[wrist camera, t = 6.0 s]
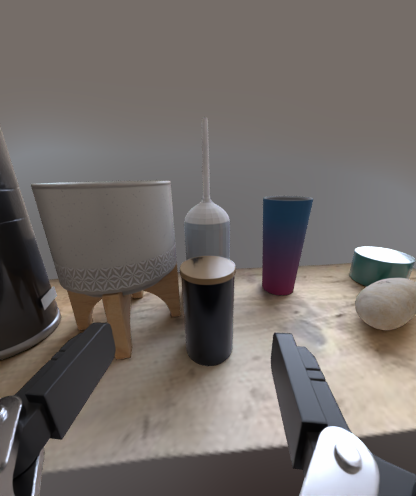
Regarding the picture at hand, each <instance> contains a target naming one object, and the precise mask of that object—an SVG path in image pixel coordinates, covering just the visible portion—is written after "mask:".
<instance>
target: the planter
mask: <svg viewBox="0 0 416 496" xmlns="http://www.w3.org/2000/svg"><path fill="white" fill-rule="evenodd" d="M31 187H32V190H33V194H34V197H35V201H36V204H37V207H38V211H39V214H40V218H41V221H42V224H43V227H44V231H45V234H46V238H47V241H48V245H49V248H50V251H51V255H52V258H53V261H54V265H55V268H56V271H57V275H58V278H59V282H60V284H61V286H62V287H63V288H65V289H66V290H67V292H68V295H69V298H70V302H71V305H72V309H73V312H74V316H75V319H76V323H77V326H78V330H84V329H87V328H88V326H89V325H90V324H92V322H93V318H92V313H93V308H94V306H95V305H96V304H97V303H98V302H99V301H100V300H101V299H102V300H103V305H104V309H105V314H106V318H107V323H109V324H110V325H111V328H112V333H113V337H114V342H115V347H116V351H115V358H116V360H118V359H124V358H130V357H131V353H132V342H131V330H130V305H131V295H132V297H133V299H134V298H142V297H143V291H146V292H150V293H152V294H154V295H156V296H158V297H159V298H161V299H162V300H163V301H164V302H165V303H166V304H167V306H168V308H169V309H170V312H171V317H177V316H181V312H180V299H179V285H178V272H177V261H176V248H175V235H174V221H173V209H172V195H171V182H170V181H114V182H113V181H111V182H72V183H43V184H31Z"/></svg>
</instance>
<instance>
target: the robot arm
mask: <svg viewBox="0 0 416 496" xmlns="http://www.w3.org/2000/svg"><path fill="white" fill-rule="evenodd" d="M18 187H19V185H18V182H17V179H16V176H15V173H14V169H13V166H12V163H11V160H10V156H9V153H8V149H7V146H6V143H5V140H4V137H3V133H2V129H1V126H0V360H2V359H5V358H8V357H11V356H13V355H15V354H18V353H20V352H22V351H24V350H26V349H28V348H30V347H32V346H34V345H35V344H37V343H38V342H40V341H41V340H43V339H44V338H46V337H47V336H48V335H49V334H50V333H52V332H53V331H54V330H55V328H56V327H57V326H58V324H59V323H60V320H61V314H60V311H59V308H58V307H57V303H56V301H55V297H56V296H57V294H56V291H55V288H54V286H53V287H52V288H51V286H50V283H49V279H48V276H47V274H46V270H45V267H44V264H43V260H42V257H41V254H40V251H39V248H38V245H37V242H36V238H35V235H34V232H33V229H32V226H31V223H30V219H29V216H28V213H27V210H26V207H25V204H24V201H23V197H22V194H21V191H20V189H19V188H18ZM115 351H116V347H115V342H114V337H113V333H112V328H111V325H110V324H109V323H92V324H90V325H89V326H88V328H87V329H86V330H85V331H84V332H83V333H80V334H78V335H77V336H75V337H73V338H72V339H70V340H69V341H68V342H67V343H66V344H65V345H64V346H63V347H62V348H61V349H60V350H59V352H57V353H56V354H55V355H54V356H53V357H52V358H51V360H49V361H48V362H47V363H46V364H45V365H44V366H43V367H42V368H41V369H40V370H39V371H38V372H37V373H36V374H35V375H34V376H33V377H32V378H31V379H30V380H29V381H28V382H27V383H26V384H25V385H24V386H23V387H22V388H21V389H20V390H19V391H18V392H17V393H16V394H15V395H14V396H7V397H4V398H1V399H0V496H39V494H40V486H41V478H42V470H43V462H44V454H45V450H44V446H45V444H46V443H47V441H48V440H49V438H53V439H61V440H62V439H63V437H64V436H65V434H66V432H67V431H68V429H69V428H70V426H71V425H72V423H73V422H74V420H75V418H76V417H77V415H78V414H79V412H80V411H81V409H82V407H83V406H84V404H85V403H86V401H87V400H88V398H89V397H90V395H91V393H92V392H93V390H94V389H95V387H96V386H97V384H98V382H99V381H100V379H101V378H102V376H103V375H104V373H105V372H106V370H107V368H108V367H109V365H110V364H111V362H112V360H113V358H114V356H115ZM271 369H272V375H273V380H274V384H275V389H276V393H277V398H278V402H279V407H280V412H281V416H282V421H283V425H284V430H285V434H286V439H287V443H288V448H289V452H290V457H291V462H292V466H293V468H295V469H302V470H303V473H304V477H305V480H304V483H303V486H302V489H301V492H300V495H299V496H416V475H415V474H413V473H411V472H409V471H407V470H404V469H402V468H400V467H398V466H395V465H393V464H391V463H389V462H386V461H384V460H382V459H380V458H379V457H377V456H376V455H374V454H373V453H371V452H370V451H369V450H368V448H367V447H366V446H365V445H364V444H363V442H362V441H361V440H359V439H358V438H357V437H356V436H355V435H353V434H352V432H351V431H350V429H349V427H348V425H347V424H346V421H345V419H344V417H343V415H342V413H341V411H340V409H339V407H338V405H337V403H336V401H335V398H334V396H333V394H332V392H331V390H330V388H329V386H328V384H327V382H326V381H325V377H324V375H323V373H322V372H321V370H320V367H319V365H318V363H317V361H316V359H315V357H314V356H313V355H312V354H311V353H310V352H309V350H308V349H307V348H306V347H299V346H297V345H296V343H295V340H294V338H293V335H292V334H291V333H274V335H273V343H272V352H271Z"/></svg>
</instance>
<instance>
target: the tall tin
mask: <svg viewBox="0 0 416 496" xmlns="http://www.w3.org/2000/svg"><path fill="white" fill-rule="evenodd" d="M235 273H236V266H235V264H234V263H233V262H232V261H231V260H229V259H227V258H224V257H219V256H199V257H194V258H190V259H188V260H186V261H184V262H183V263H182V264H181V266H180V275H181V278H182V292H183V307H184V321H185V335H186V350H187V353H188V355H189V357H190V358H191V359H192V360H193V361H194V362H196V363H198V364H201V365H205V366H214V365H218V364H220V363H222V362H224V361H225V360H226V359H228V357H229V356H230V354H231V352H232V343H233V308H234V275H235Z"/></svg>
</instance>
